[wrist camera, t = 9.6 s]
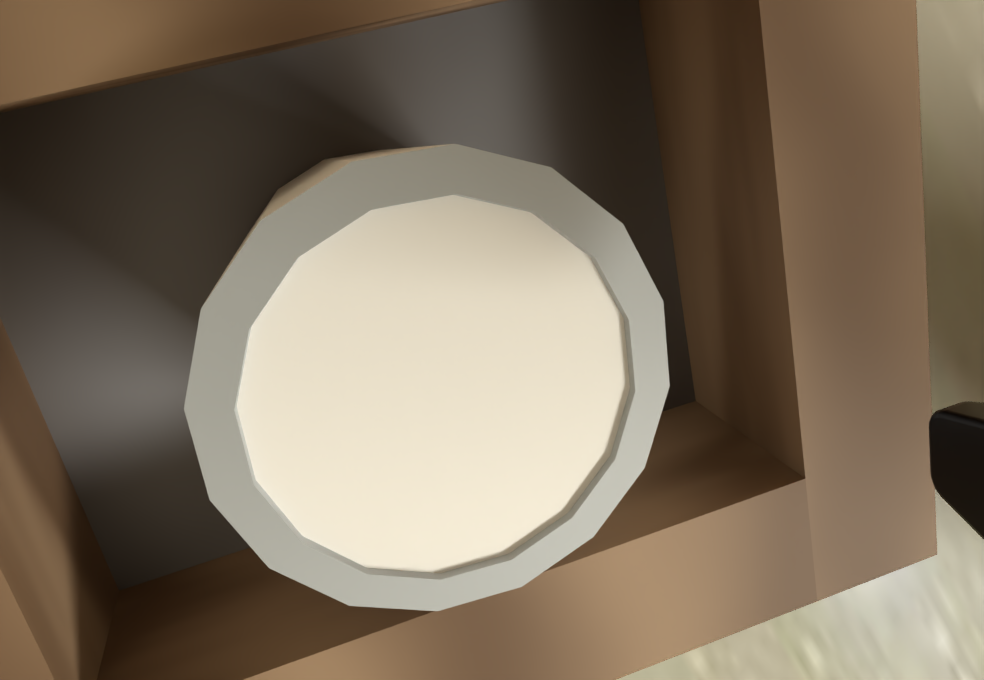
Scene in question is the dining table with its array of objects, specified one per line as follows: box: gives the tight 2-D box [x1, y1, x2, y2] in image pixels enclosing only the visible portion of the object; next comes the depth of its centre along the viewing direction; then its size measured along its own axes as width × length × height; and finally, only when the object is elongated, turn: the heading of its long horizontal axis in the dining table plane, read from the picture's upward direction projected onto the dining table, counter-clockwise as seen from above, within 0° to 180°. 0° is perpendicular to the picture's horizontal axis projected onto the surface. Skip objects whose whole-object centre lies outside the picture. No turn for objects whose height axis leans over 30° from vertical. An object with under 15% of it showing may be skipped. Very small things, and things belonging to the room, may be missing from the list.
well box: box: [0, 0, 937, 680], centre depth 17 cm, size 20×16×6 cm
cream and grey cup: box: [184, 144, 670, 611], centre depth 15 cm, size 7×7×7 cm
